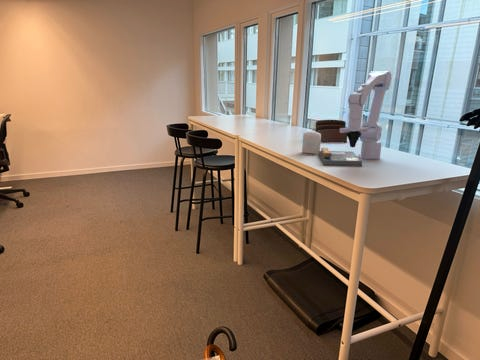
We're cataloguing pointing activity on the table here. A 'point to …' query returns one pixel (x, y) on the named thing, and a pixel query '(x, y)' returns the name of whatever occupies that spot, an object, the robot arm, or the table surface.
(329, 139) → the letter holder
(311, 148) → the photo printer
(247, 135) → the table surface
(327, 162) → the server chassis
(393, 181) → the table surface
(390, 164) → the table surface
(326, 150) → the tan grey headed bar
